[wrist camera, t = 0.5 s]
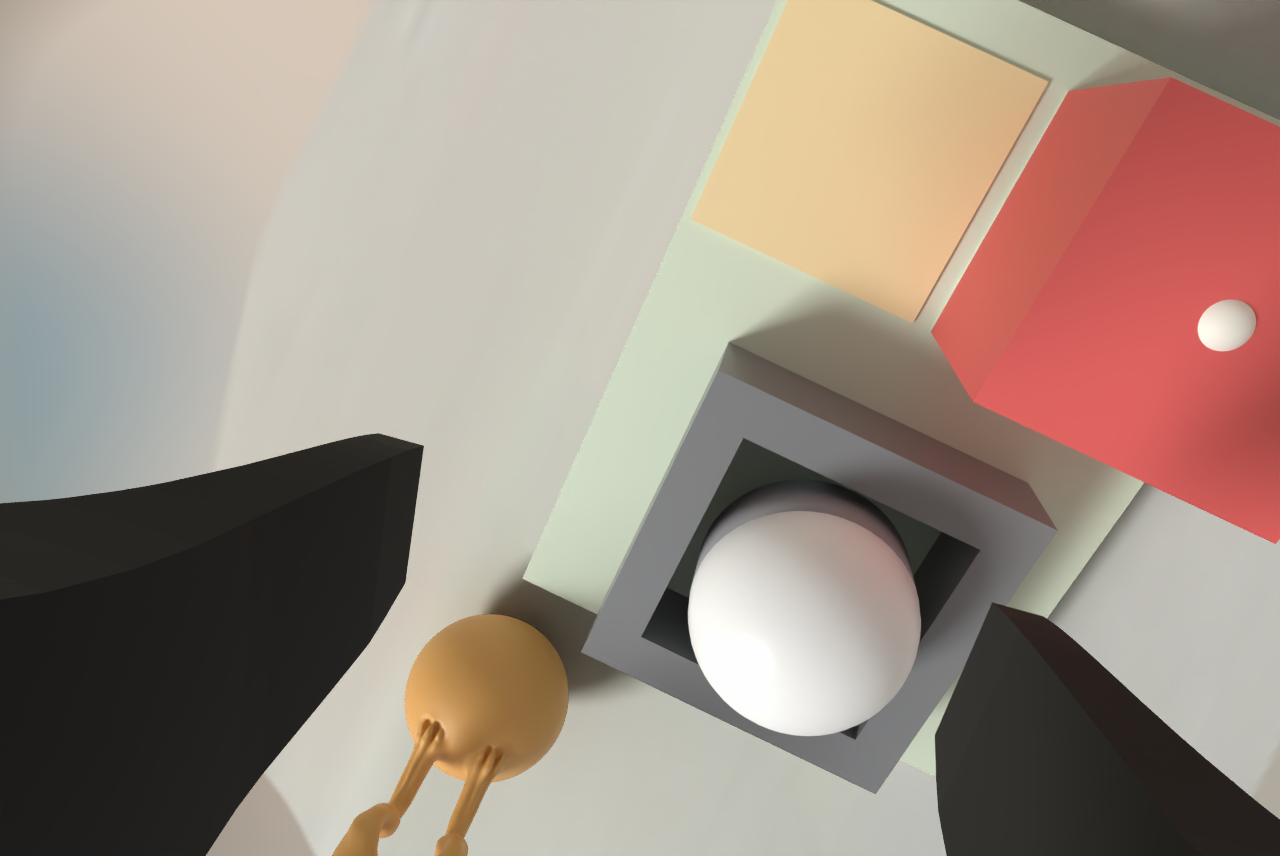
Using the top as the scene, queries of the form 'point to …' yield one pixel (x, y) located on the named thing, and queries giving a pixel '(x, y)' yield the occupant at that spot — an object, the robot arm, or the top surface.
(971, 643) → the housing
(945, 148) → the board
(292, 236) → the top surface
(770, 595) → the white ball
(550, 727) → the figurine
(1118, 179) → the die
